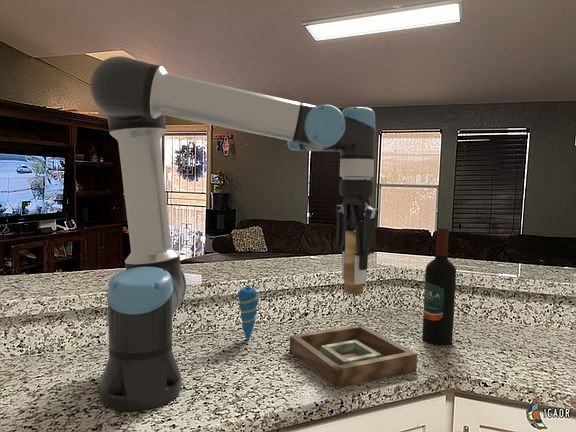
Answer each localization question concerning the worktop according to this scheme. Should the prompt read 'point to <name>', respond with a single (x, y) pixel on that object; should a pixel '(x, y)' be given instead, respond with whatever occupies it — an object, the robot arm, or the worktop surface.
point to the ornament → (248, 309)
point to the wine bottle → (439, 295)
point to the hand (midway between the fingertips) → (353, 280)
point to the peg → (350, 264)
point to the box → (352, 355)
